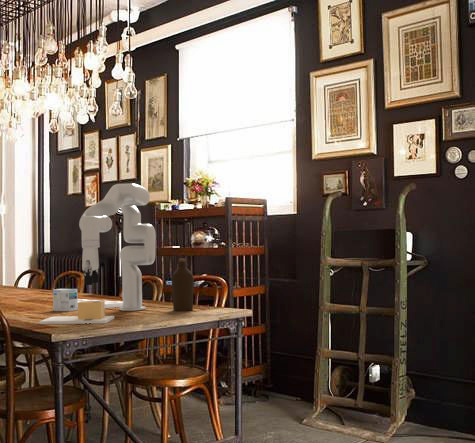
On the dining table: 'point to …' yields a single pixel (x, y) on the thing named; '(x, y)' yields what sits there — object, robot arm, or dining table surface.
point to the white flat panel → (74, 320)
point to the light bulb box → (65, 299)
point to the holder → (107, 303)
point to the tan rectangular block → (91, 309)
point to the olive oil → (182, 288)
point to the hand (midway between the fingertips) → (91, 283)
